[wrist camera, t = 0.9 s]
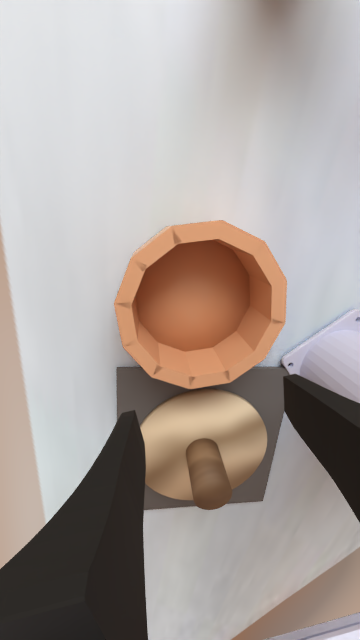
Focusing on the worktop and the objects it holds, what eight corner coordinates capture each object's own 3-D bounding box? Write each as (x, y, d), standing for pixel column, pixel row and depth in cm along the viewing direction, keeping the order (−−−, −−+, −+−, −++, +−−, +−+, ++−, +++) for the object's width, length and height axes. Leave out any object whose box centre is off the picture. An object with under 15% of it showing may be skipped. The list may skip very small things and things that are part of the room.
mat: (291, 366, 24) (293, 369, 24) (261, 497, 30) (262, 500, 30) (117, 367, 22) (116, 369, 22) (119, 507, 28) (118, 511, 27)
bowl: (281, 307, 22) (312, 325, 18) (178, 379, 23) (185, 413, 19) (211, 190, 19) (229, 180, 14) (92, 284, 20) (78, 299, 16)
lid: (285, 447, 27) (315, 495, 22) (185, 510, 29) (193, 568, 24) (218, 362, 23) (238, 398, 18) (105, 442, 24) (94, 495, 19)
